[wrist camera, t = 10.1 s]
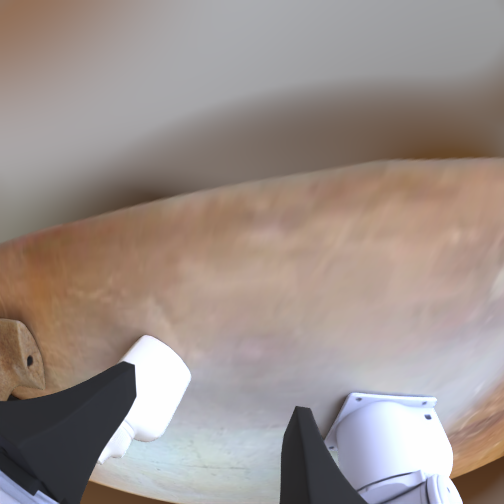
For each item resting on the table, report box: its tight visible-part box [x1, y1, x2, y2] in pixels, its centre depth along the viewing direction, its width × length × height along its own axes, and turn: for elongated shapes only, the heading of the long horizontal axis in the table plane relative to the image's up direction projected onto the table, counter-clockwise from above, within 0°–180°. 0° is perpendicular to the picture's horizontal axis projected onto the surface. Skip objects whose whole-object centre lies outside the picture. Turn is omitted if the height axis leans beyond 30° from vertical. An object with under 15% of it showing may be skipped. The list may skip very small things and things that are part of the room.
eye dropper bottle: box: [97, 335, 191, 465], centre depth 18 cm, size 4×6×12 cm
